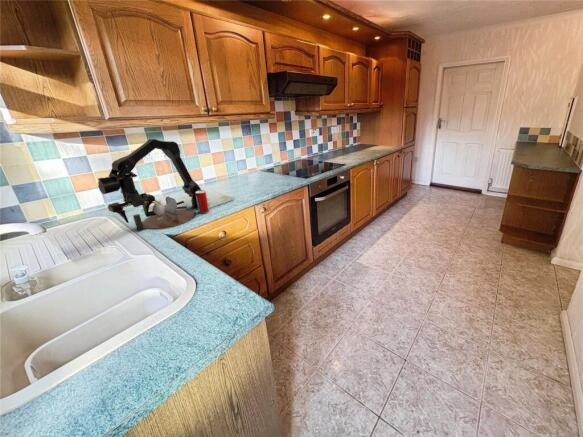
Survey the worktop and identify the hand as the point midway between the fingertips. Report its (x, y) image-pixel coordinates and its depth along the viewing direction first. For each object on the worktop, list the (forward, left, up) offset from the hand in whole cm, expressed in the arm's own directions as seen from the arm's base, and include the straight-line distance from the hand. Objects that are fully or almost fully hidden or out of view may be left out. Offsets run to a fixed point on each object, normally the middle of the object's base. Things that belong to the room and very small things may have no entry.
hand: (137, 219), depth 124 cm
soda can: (-31, +8, -5) cm, 32 cm away
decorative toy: (-15, 0, -5) cm, 16 cm away
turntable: (-13, 0, -5) cm, 14 cm away
